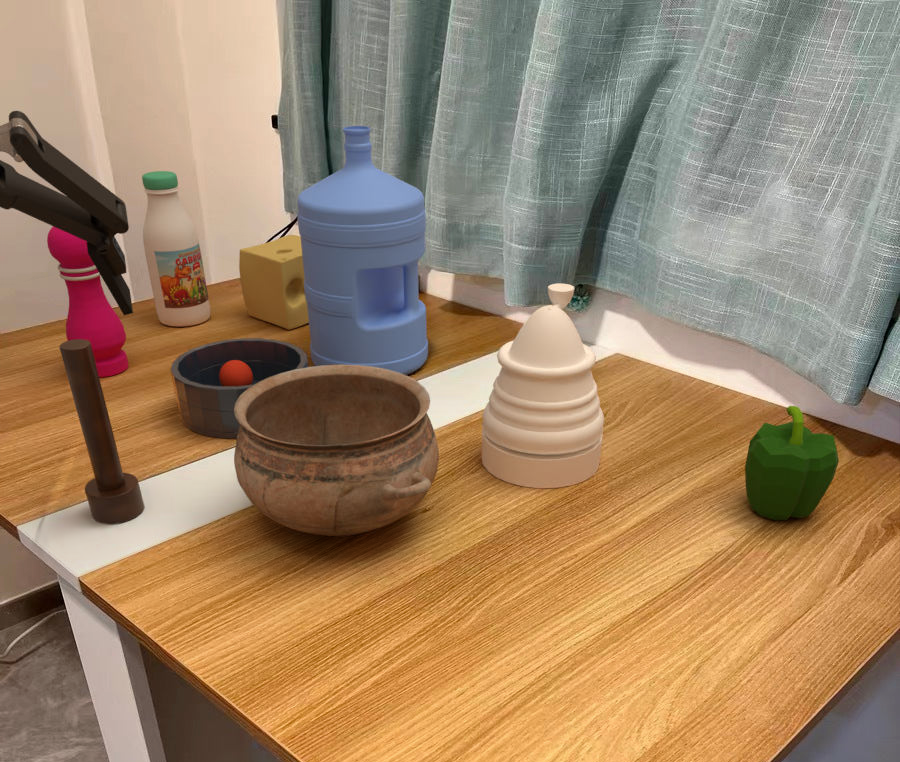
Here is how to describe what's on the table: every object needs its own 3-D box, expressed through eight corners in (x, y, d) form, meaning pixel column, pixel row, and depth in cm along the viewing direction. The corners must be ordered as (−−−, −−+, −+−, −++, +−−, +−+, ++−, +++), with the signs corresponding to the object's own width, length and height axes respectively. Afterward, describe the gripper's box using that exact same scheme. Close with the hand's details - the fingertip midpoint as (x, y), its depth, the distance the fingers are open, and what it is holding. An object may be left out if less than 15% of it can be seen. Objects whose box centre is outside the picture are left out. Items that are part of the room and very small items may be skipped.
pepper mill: (63, 374, 116) (19, 211, 104) (100, 355, 121) (62, 198, 109) (108, 382, 114) (68, 217, 102) (144, 362, 119) (109, 203, 107)
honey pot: (521, 423, 104) (529, 265, 93) (620, 452, 98) (640, 287, 87) (458, 465, 95) (459, 297, 85) (562, 500, 89) (577, 324, 79)
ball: (221, 400, 107) (215, 368, 105) (222, 387, 110) (217, 356, 108) (254, 398, 108) (250, 366, 105) (255, 385, 111) (250, 354, 109)
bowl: (174, 443, 100) (164, 393, 96) (186, 387, 112) (177, 341, 109) (314, 434, 102) (309, 384, 98) (310, 380, 114) (305, 334, 111)
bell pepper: (821, 537, 84) (849, 441, 78) (732, 522, 86) (752, 427, 80) (824, 496, 90) (850, 404, 84) (740, 482, 92) (760, 392, 86)
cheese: (342, 314, 134) (337, 245, 128) (286, 333, 128) (278, 261, 122) (299, 299, 140) (292, 232, 134) (243, 316, 134) (233, 247, 128)
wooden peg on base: (88, 526, 86) (39, 356, 76) (96, 500, 90) (50, 335, 80) (141, 521, 86) (99, 353, 76) (147, 496, 90) (108, 332, 80)
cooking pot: (194, 502, 89) (171, 387, 82) (346, 445, 99) (338, 339, 92) (338, 615, 74) (326, 487, 67) (501, 535, 84) (505, 416, 77)
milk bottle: (149, 326, 130) (119, 178, 118) (171, 309, 136) (144, 167, 124) (199, 329, 129) (173, 180, 117) (219, 311, 135) (196, 168, 123)
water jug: (289, 373, 116) (262, 134, 99) (346, 334, 127) (330, 114, 111) (397, 392, 111) (387, 144, 94) (446, 349, 123) (445, 122, 106)
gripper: (-339, 167, 52) (-103, 398, 71) (76, 60, 53) (199, 317, 72) (-323, 89, 55) (-102, 330, 74) (68, -10, 56) (188, 253, 75)
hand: (46, 324), depth 73 cm, fingers open, 13 cm apart
